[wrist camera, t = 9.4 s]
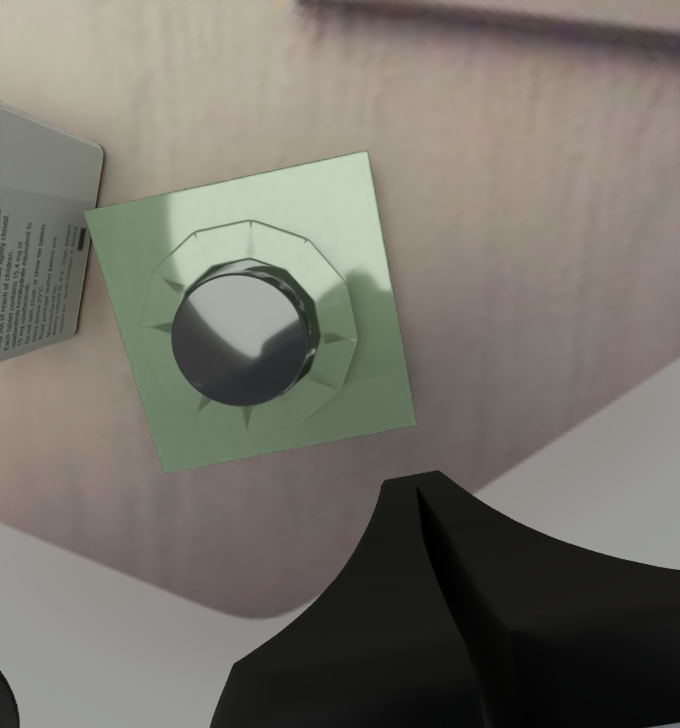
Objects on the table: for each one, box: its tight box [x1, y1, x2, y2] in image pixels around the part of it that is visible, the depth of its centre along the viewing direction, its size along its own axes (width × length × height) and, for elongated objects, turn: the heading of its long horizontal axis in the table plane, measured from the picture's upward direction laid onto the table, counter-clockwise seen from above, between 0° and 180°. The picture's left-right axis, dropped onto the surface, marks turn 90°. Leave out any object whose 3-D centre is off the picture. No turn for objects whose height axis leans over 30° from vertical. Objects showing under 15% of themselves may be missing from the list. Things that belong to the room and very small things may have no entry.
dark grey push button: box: [171, 270, 311, 407], centre depth 16 cm, size 4×4×2 cm
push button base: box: [84, 150, 417, 473], centre depth 19 cm, size 10×10×4 cm
